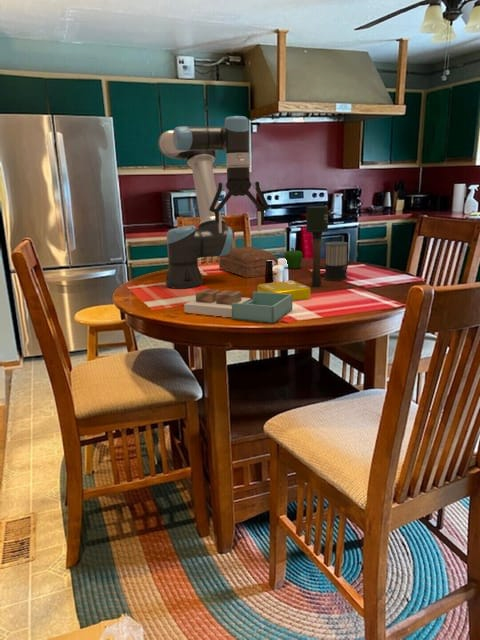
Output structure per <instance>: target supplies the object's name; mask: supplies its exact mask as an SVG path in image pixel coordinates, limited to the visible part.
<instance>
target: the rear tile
mask: <svg viewBox="0 0 480 640" xmlns="http://www.w3.org/2000/svg"><path fill="white" fill-rule="evenodd" d="M220 292H222V290H221V289H212V288H211V289H210V288H204V289H202V290H199V291H196V292H195V299H196V302H204V303H214V302H216V294H218V293H220Z"/></svg>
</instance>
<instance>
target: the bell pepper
mask: <svg viewBox="0 0 480 640" xmlns="http://www.w3.org/2000/svg"><path fill="white" fill-rule="evenodd" d="M284 252H285V253H284V260H285V259H286V260H287V264H288V267H287V268H288V269H291V270H295V269H299V268H300V267H301V266H302V262H303V252H302V251H301V250H295V247H292V246H291V247H290V250H287V251H284Z"/></svg>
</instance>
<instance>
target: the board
mask: <svg viewBox="0 0 480 640" xmlns="http://www.w3.org/2000/svg"><path fill="white" fill-rule="evenodd" d="M241 299H242V301H240V302H238V303H242V304H246V303H247V302H249V301H251V300H252V298H250V297H242V296H241ZM183 306H184V313H185V312H188V313H198V314H206V315H214V316H213V317H216V316H222V317H221V318H226V317H232V305H226V304H216V302H214V303H204V302H196V298H195V299H193V300H191V301H189V302H186V303H184V305H183ZM206 315H205V316H206Z"/></svg>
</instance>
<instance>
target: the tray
mask: <svg viewBox="0 0 480 640" xmlns="http://www.w3.org/2000/svg"><path fill="white" fill-rule="evenodd" d="M291 311H293V301H292V294H278V293H265V292H258V291H252V299H251V301H249V302H247V303H246V304H242V303H232V318H231V319H232V320H235V319H240V320H239V321H245V320H249V321H248V322H255V321H258V322H257V323H265V322H267V323H266V324H275V323H276V322H277V320H278V321H279V320H280V319H282V318H283V317H285V316H286V315H287V314H289V313H290V312H291Z"/></svg>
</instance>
